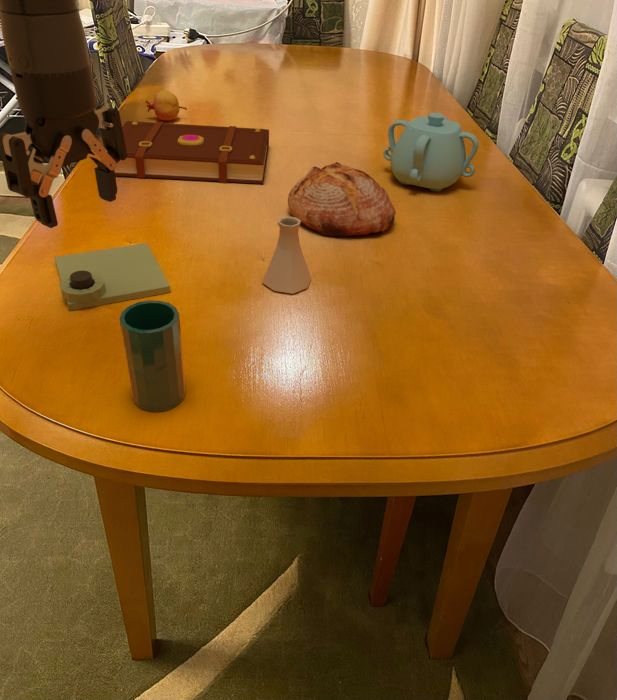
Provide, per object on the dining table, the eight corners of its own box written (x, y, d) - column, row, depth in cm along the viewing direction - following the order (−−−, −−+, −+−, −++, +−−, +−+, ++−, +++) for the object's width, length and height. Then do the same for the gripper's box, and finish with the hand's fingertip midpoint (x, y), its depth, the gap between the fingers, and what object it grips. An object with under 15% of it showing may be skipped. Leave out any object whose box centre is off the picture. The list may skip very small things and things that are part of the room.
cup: (139, 417, 67) (126, 337, 60) (127, 384, 71) (114, 306, 64) (191, 404, 69) (185, 325, 62) (177, 372, 73) (170, 295, 67)
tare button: (73, 292, 82) (71, 282, 81) (70, 282, 84) (68, 272, 83) (94, 288, 83) (93, 278, 82) (91, 278, 85) (89, 268, 84)
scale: (66, 313, 82) (63, 297, 80) (53, 263, 92) (49, 248, 90) (171, 293, 87) (170, 278, 86) (147, 248, 97) (146, 234, 96)
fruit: (186, 91, 150) (144, 89, 149) (186, 91, 144) (142, 89, 142) (187, 120, 153) (146, 119, 151) (187, 122, 147) (144, 120, 145)
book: (263, 185, 121) (263, 160, 118) (103, 176, 119) (99, 151, 116) (268, 146, 139) (269, 124, 136) (130, 138, 137) (127, 116, 134)
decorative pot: (376, 167, 132) (384, 102, 124) (444, 165, 136) (456, 101, 127) (401, 197, 120) (412, 128, 112) (476, 194, 123) (491, 126, 115)
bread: (292, 200, 118) (295, 148, 112) (394, 211, 116) (401, 158, 111) (279, 233, 104) (281, 175, 99) (393, 245, 103) (401, 187, 97)
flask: (279, 265, 95) (281, 206, 89) (319, 279, 93) (324, 218, 87) (253, 284, 90) (253, 223, 84) (294, 300, 88) (298, 237, 82)
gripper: (80, 42, 66) (104, 184, 76) (-41, 66, 56) (4, 225, 67) (130, 54, 63) (147, 200, 73) (11, 81, 54) (50, 245, 64)
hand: (79, 211), depth 70 cm, fingers open, 8 cm apart
